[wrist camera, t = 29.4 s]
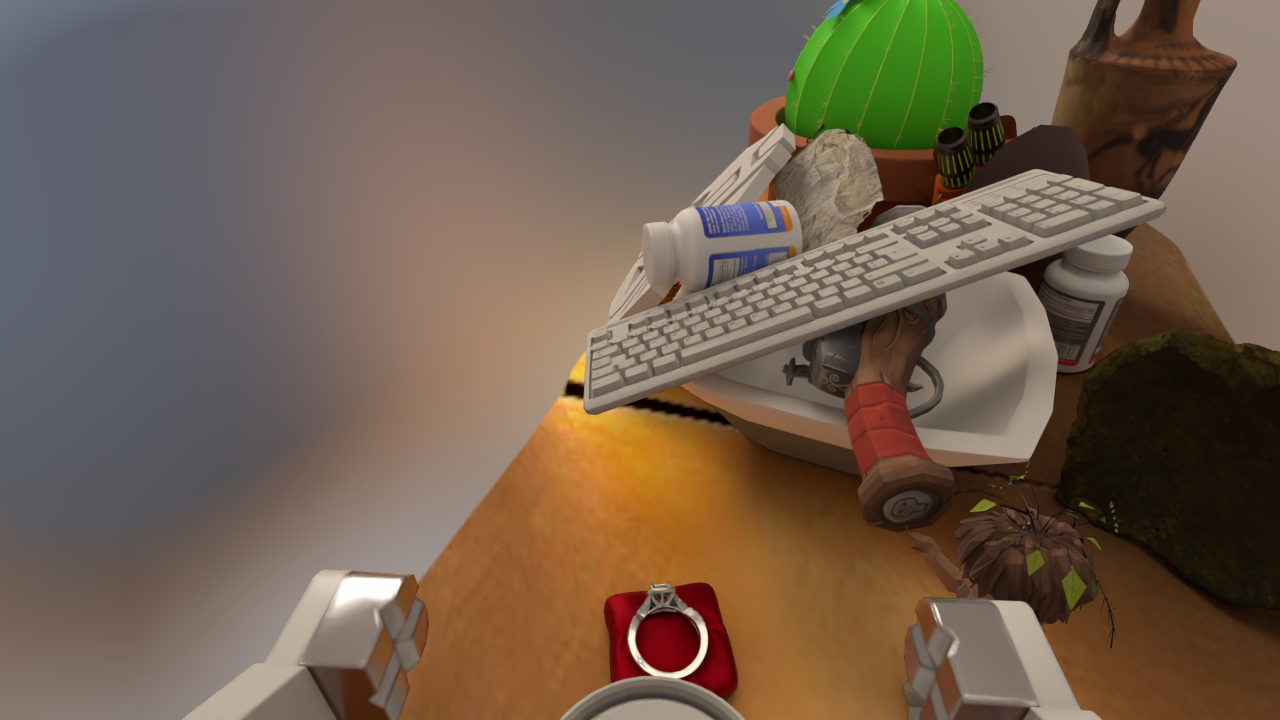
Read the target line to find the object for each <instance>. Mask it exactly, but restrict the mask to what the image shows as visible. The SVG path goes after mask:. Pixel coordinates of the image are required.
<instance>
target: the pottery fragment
mask: <svg viewBox="0 0 1280 720" xmlns="http://www.w3.org/2000/svg"><path fill="white" fill-rule="evenodd" d="M1077 414H1078V417H1077V420H1076V421H1074V422H1073V423H1072V430H1071V432H1070V435H1069V438H1068V440H1067V448H1066V460H1065V463H1064V465H1063V468H1062V470H1061V479H1060V481H1059V483H1058V486H1057V490H1056V493H1055V496H1056V498H1057V499H1058V500H1059V501H1060V502H1062V503H1063V504H1064V505H1065V506H1066V507H1068V508H1073V507H1075V508H1073V509H1076V510H1079V511H1081V512H1082V513H1083V514H1084V515H1086V516H1087V517H1088V518H1089V520H1090V522H1091V521H1096V520H1100V519H1101V518H1103V517H1104V516H1105V520H1106V523H1104V522H1102V521H1097V522H1092V523H1093V524H1095V525H1096V526H1097V527H1098V526H1102V527H1104V528H1105V530H1106V531H1111V530H1112V532H1114V533H1118V534H1126V535H1130V536H1132V537H1133V538H1135V539H1138V540H1140V541H1142V542H1144V543H1145V544H1147V545H1149V546H1150V547H1152V549H1153V550H1154V551H1155V552H1156V553H1158V554H1160V555H1162V556H1163V557H1165V558H1166V559H1168V560H1169V561H1170V562H1171V563H1172V564H1173V566H1174V567H1175V568H1176V569H1177V570H1178V571H1179V573H1180V574H1181V575H1182V576H1183V577H1184V578H1185V579H1189V580H1191V581H1192V582H1193V583H1194V584H1197V585H1199V586H1201V587H1202V588H1204V589H1205V590H1207V591H1208V592H1209V593H1211V594H1212V595H1213V596H1215V597H1217V598H1219V599H1222V600H1224V601H1227V602H1229V603H1231V604H1234V605H1236V606H1240V607H1243V608H1250V609H1254V610H1257V611H1259V612H1262V613H1263V614H1266V615H1269V616H1272V617H1275V618H1277V619H1279V620H1280V352H1279V351H1272V350H1270V349H1267V348H1265V347H1262V346H1259V345H1254V344H1250V343H1243V344H1234V345H1230V344H1229V343H1227V342H1225V341H1222V340H1219V339H1216V338H1215V337H1214V336H1212V335H1209V334H1205V333H1202V332H1199V331H1195V330H1192V329H1188V328H1181V327H1179V328H1174V329H1170V330H1169V331H1167V332H1165V333H1162V334H1159V335H1156V336H1151V337H1146V338H1140V339H1137V340H1135V341H1134V342H1132V343H1130V344H1128V345H1125V346H1122V347H1120V348H1118V349H1116V350H1114V351H1112V352H1110V353H1109V354H1108V356H1107V357H1105V358H1104V359H1102V360H1100V361H1099V362H1098V363H1096V364H1095V365H1094V366H1093V368H1092V369H1091V370H1090V371H1089V372H1088V374H1087V375H1086V376H1085V377H1084V379H1083V382H1082V392H1081V395H1080V397H1079V403H1078V406H1077ZM1110 501H1112V504H1113V507H1112V508H1110V507H1111V505H1112V504H1111V503H1110ZM1081 502H1083V503H1085V504H1086V505H1088V506H1090V507H1092V508H1094V509H1091V508H1087V507H1083V506H1079V505H1080V503H1081ZM1110 504H1111V505H1110ZM1077 506H1079V507H1077ZM1095 509H1096V510H1095ZM1113 510H1114V512H1112V511H1113ZM1111 512H1112V513H1111ZM1114 517H1115V519H1113V518H1114ZM1111 521H1112V522H1111ZM1116 523H1117V525H1118V527H1117V526H1114V525H1115V524H1116ZM1116 529H1117V531H1118V532H1116V531H1115V530H1116Z"/></svg>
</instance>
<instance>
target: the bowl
mask: <svg viewBox="0 0 1280 720" xmlns="http://www.w3.org/2000/svg"><path fill="white" fill-rule="evenodd" d="M695 292H698V291H689V290H687V289H685V288H684V287H683V286H681V288H680V289H679V291H678V292H677V294H676V295H675V297H674V299H673V300H676V299H679V298H682V297H684V296H687V295H690V294H693V293H695ZM945 293H946V300H947V310H946V312H945V314H944V316H943V317H942V318H941V319H940V320H939V321H938V322H937V323H936V325H935V333H936V334H935V336H934V338H933V340H932V342H931V343H930V344H929V345H928V346H927V347H926V348H925V349H924V350H923V352H922V354H921V356H922V357H923V358H925V359H926V360H927V361H929V362H930V363H931V364H932V365H933V366H934V367H935V368H936V369H937V370H938V371H939V373H940V375H941V378H942V380H943V382H944V390H943V397H942V399H941V401H940V403H939V404H938V405H936V406H935V407H934V408H933V409H932V410H931V411H930V412H928V413H926V414H924V415H921V416H919V417H917V418H914V419H911V420H912V423H913V425H914V427H915V430H916V432H917V435H918V437H919V439H920V441H921V443H922V445H923V447H924V449H925V451H926V453H927V454H928V455H929V457H930V458H931V459H932V461H933V462H935V463H938V464H942V465H946V466H947V467H956V466H972V465H987V464H1002V463H1017V462H1027V461H1028V460H1029V459H1030V458H1031V456H1032V454H1033V452H1034V450H1035V448H1036V445H1037V443H1038V441H1039V439H1040V437H1041V435H1042V433H1043V431H1044V429H1045V427H1046V424H1047V422H1048V420H1049V418H1050V416H1051V414H1052V412H1053V403H1054V393H1055V383H1056V373H1057V363H1058V354H1057V351H1056V347H1055V343H1054V340H1053V336H1052V332H1051V329H1050V325H1049V322H1048V318H1047V314H1046V311H1045V308H1044V306H1043V305H1042V303H1041V302H1040V300H1039V298H1038V297H1037V295H1036V294H1035V292H1034V290H1033V289H1032V287H1031V286H1030V284H1029V282H1028V281H1027V279H1026V278H1025V277H1024V276H1021V275H1018V274H1014V273H1010V272H1007V271H1005V272H1002V273H1000V274H997V275H994V276H991V277H988V278H985V279H982V280H980V281H977V282H974V283H971V284H968V285H965V286H962V287H960V288H957V289H954V290H951V291H948V292H945ZM673 300H672V301H673ZM803 343H804V342H803ZM803 343H800V344H797V345H794V346H791V347H788V348H785V349H783V350H780V351H777V352H774V353H771V354H768V355H766V356H763V357H760V358H757V359H754V360H751V361H748V362H746V363H743V364H740V365H737V366H734V367H731V368H728V369H726V370H723V371H720V372H717V373H714V374H711V375H708V376H706V377H703V378H700V379H697V380H694V381H691V382H688V383H686V384H683V385H680V386H682V387H683V388H685V389H686V390H688V391H689V392H691V393H692V394H694V395H696V396H697V397H699V398H700V399H702V400H703V401H706V402H708V403H709V404H710V405H712V406H713V407H714V408H715V409H716V410H717V411H718V412H719V413H720V414H721V415H722V416H724V417H725V418H726V419H727V420H728V421H729V422H730V423H731V424H732V425H733V426H734V427H736V428H737V429H738V430H739V431H740V432H741V433H742V434H743V435H744V436H745V437H747V438H748V439H750V440H752V441H754V442H756V443H758V444H760V445H762V446H764V447H766V448H768V449H770V450H772V451H774V452H777V453H781V454H784V455H787V456H791V457H794V458H797V459H801V460H804V461H807V462H811V463H814V464H818V465H821V466H825V467H828V468H832V469H836V470H839V471H843V472H846V473H850V474H854V475H857V476H861V474H860V471H859V468H858V465H857V461H856V458H855V455H854V451H853V448H852V444H851V439H850V435H849V430H848V425H847V419H846V413H845V407H844V399H842V398H839V397H836V396H833V395H830V394H827V393H825V392H823V391H821V390H819V389H818V388H816V387H815V386H813V385H811V384H810V383H808V378H797V377H794V379H793V382H792V385H791V386H788V385H787V382H786V376H785V373H783V372H782V370H783V367H784V365H785V364H787V365H789V362H790V360H791V359H792V358H795V362H796V365H803V364H806V365H808V366H810V362H809V361H807V360H806V359H805V358H804V356H803ZM910 382H911V383H913V384H919V385H923V389H920V390H917V391H915V392H912V393H911V392H907V396H906V405H907V408H908V410H909V409H912V408H915V407H917V406H920V405H922V404H924V403H926V402H927V401H928V400H929V399H930V398H932V397H933V396H934V392H935V387H934V385H933V382H932V380H931V378H930V376H929V375H927V374H926V373H925V372H924V371H923V370H922V369H921V368H920V367H919V366H917V365H916V366H915V368H914V371H913V373H912V376H911V379H910Z"/></svg>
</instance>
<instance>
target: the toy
mask: <svg viewBox="0 0 1280 720" xmlns="http://www.w3.org/2000/svg"><path fill="white" fill-rule="evenodd" d="M1029 460H1030V459H1029ZM1029 460H1028V462H1027V463H1029ZM1028 465H1029V464H1028ZM1028 465H1027V466H1026V468H1028ZM1015 466H1016V464H1015ZM1027 472H1028V471H1027ZM1027 472H1025V473H1027ZM1024 476H1025V475H1024ZM1024 476H1021V477H1014V476H1009V480H1013V481H1012V482H1011V483H1012V484H1015V485H1018V479H1019V478H1022V479H1023V480H1024V481H1026V480H1025V479H1024V478H1023V477H1024ZM998 478H999V477H998ZM1014 479H1015V480H1014ZM999 482H1001V481H999ZM1026 482H1027V481H1026ZM1011 483H1009V484H1011ZM1027 483H1028V482H1027ZM1009 484H1008V485H1009ZM1028 484H1029V483H1028ZM989 485H994V484H989ZM1029 485H1030V484H1029ZM992 487H996V486H992ZM1000 488H1002V487H1000ZM1000 488H999V489H1000ZM1031 488H1032V485H1031ZM978 489H979V488H978ZM969 490H971V491H973V490H976V489H969ZM1019 490H1020V489H1019ZM1032 490H1033V488H1032ZM961 491H962V490H961ZM961 491H959V492H961ZM959 492H957V493H959ZM966 492H968V491H966ZM976 492H984V491H982V490H978V491H976ZM1020 492H1021V491H1020ZM957 493H955V494H957ZM962 493H963V492H962ZM985 493H987V492H985ZM1033 493H1034V491H1033ZM955 494H953V495H955ZM988 494H989V493H987V495H988ZM1021 494H1022V493H1021ZM953 495H951V496H950V497H952V496H953ZM990 495H991V496H994V497H996V496H995V495H993V494H991V493H990ZM996 495H997V494H996ZM982 496H983V495H982ZM1022 496H1023V495H1022ZM1034 496H1035V494H1034ZM950 497H949V498H948V500H949V499H950ZM991 498H992V497H991ZM997 498H999V497H997ZM997 498H996V499H997ZM1023 498H1024V497H1023ZM999 499H1000V500H1001V499H1002V498H999ZM1016 499H1017V502H1018V498H1016ZM1035 499H1036V497H1035ZM948 500H947V501H948ZM1002 500H1003V499H1002ZM1024 500H1025V499H1024ZM1005 502H1006V501H1005ZM1025 502H1026V501H1025ZM1036 502H1037V500H1036ZM1006 503H1007V502H1006ZM1110 503H1111V504H1112V501H1110ZM1008 504H1009V503H1008ZM1026 504H1027V503H1026ZM1037 504H1038V502H1037ZM1111 504H1110V505H1111ZM995 505H996V506H1001V507H1003V509H1004V512H1005V513H1006V514H1003V513H1000V514H999V513H997V512H996V511H994V510H993V511H990V512H986V513H983V514H979V515H976V516H972V517H969V519H963V520H961V521H960V523H959V524H964V525H961V526H960V527H959V528H958V529H957V530H956V531H955V532H953V533H956V534H955V535H954V537H953V538H955V539H956V540H957V541H959V542H960V545H959V549H958V553H957V557H956V559H957V558H958V557H959V563H960V562H961V561H962V563H961V565H962V564H963V563H964V562H966V564H965V567H964V571H960V570H959V569H958V568H956V567H955V566H954V565H953V564H952V563H951V562H950V561H949V560H948V559H947V558H946V557H945V556H944V555H943V554H942V553H941V552H940V549H941V547H940V546H939V545H938V544H937V543H936V541H935V540H934V539H933V538H932V537H930V536H927V535H925V534H922V533H918V532H915V531H910V532H909V533H907V535H909V536H912V537H914V538H916V540H915V547H912V548H910V552H911V553H913V554H916V555H918V556H920V557H922V558H923V559H924V560H925V561H926V563H927V564H928V565H929V567H930V568H931V569H932V570H933V572H934V573H935V574H936V576H937V577H938V578H939V579H940V581H941V582H942V583H943V585H944V586H945V587H946V589H947V590H948V591H950V592H954V593H957V598H968V599H987V600H1000V601H1022V602H1026V603H1027V604H1028V605H1029V606H1030V607H1031V608H1032V609H1033V611H1034V613H1035V615H1036V617H1037V620H1038V622H1039V624H1040V626H1042V625H1044V624H1052V623H1053V624H1054V623H1055V622H1056V621H1057V620H1058V619H1059V620H1060V621H1061V620H1062V622H1063V621H1064V620H1065V622H1066V625H1067V622H1068V618H1069V615H1070V613H1071V612H1072V611H1074V610H1075V608H1076V607H1078V606H1079V605H1080V606H1081V607H1082V605H1084V604H1086V603H1088V602H1091V601H1093V600H1094V599H1095V597H1096V595H1097V593H1098V590H1097V586H1098V585H1099V583H1098V582H1099V581H1098V580H1097V579H1096V576H1097V575H1096V574H1095V572H1094V568H1093V567H1094V566H1093V558H1092V557H1091V554H1090V553H1089V552H1088V550H1087V549H1086V547H1085V544H1084V541H1083V538H1082V537H1084V536H1081V535H1080V534H1078V532H1077V531H1076V530H1075V529H1074V527H1075V526H1076V525H1075V523H1076V519H1077V520H1078V519H1080V518H1079V517H1078V516H1077V515H1076V514H1075V513H1074V512H1073V511H1071V510H1070V511H1066V510H1069V509H1066V510H1065V511H1063V510H1062V512H1063V513H1066V514H1069V515H1071V516H1074V517H1075V520H1074V523H1073V527H1071V526H1070V525H1069V524H1068V523H1067V522H1058V520H1057V518H1058V517H1059V516H1060V515H1059V516H1058V517H1057V518H1056V519H1054V518H1052V517H1053V516H1052V517H1047V516H1043V515H1039V514H1038V511H1039V505H1038V510H1035V509H1034V508H1033V507H1032V506H1031V507H1028V508H1027V509H1026V511H1025V509H1024V508H1023V510H1019V509H1015V508H1014V507H1013V506H1011V505H1010V504H1009V505H1010V506H1011V507H1013V508H1011V507H1007V506H1004V505H1000V504H996V503H993V502H991V501H988V500H986V499H983V500H982V501H981V502H980V503H979V504H977V505H976V506H975V507H974V508H973V509H972V510H971V511H970V512H975V511H986V510H988V509H990V508H992V507H994V506H995ZM1005 505H1006V504H1005ZM1009 505H1008V506H1009ZM1027 506H1028V505H1027ZM1079 506H1083V507H1087V508H1091V509H1094V508H1092V507H1090V506H1088V505H1086V504H1085V503H1083V502H1081V503H1080V505H1079ZM1079 506H1077V507H1079ZM1005 507H1006V508H1005ZM1112 507H1113V504H1112V505H1111V507H1110V508H1112ZM1061 508H1062V507H1061ZM1073 508H1075V507H1073ZM1056 509H1057V508H1056ZM1070 509H1072V508H1070ZM1095 510H1096V509H1095ZM1029 511H1030V512H1029ZM1062 512H1058V511H1057V514H1060V513H1062ZM1067 512H1069V513H1067ZM1070 512H1071V513H1072V514H1070ZM1112 512H1114V510H1113V511H1112ZM1112 512H1111V513H1112ZM1063 513H1062V514H1063ZM1057 514H1055V515H1057ZM1062 514H1061V515H1062ZM1073 514H1074V515H1073ZM1055 515H1054V516H1055ZM1113 519H1115V517H1114V518H1113ZM1080 521H1081V520H1080ZM1097 521H1102V522H1104V523H1106V520H1105V516H1104V517H1103V518H1101V519H1100V520H1096V521H1091V522H1087V523H1092V522H1097ZM1111 522H1112V521H1111ZM1078 523H1079V521H1078ZM1083 524H1086V523H1083ZM1079 525H1081V524H1079ZM1086 525H1087V524H1086ZM1114 526H1117V527H1118V525H1117V523H1116V524H1115V525H1114ZM1111 531H1112V530H1111ZM1115 531H1116V532H1118V531H1117V529H1116V530H1115ZM953 533H952V534H953ZM1112 534H1113V533H1112ZM1115 536H1116V535H1115ZM1085 538H1086V537H1085ZM1088 539H1090V540H1091V541H1092V542H1093V543H1094V544H1095V545H1096V546H1097V547H1098V548H1099V549H1100V550H1101V551H1102V549H1101V548H1100V546H1099V545H1098V543H1097V541H1096V540H1095V539H1094V538H1088ZM961 565H960V566H961ZM1097 570H1098V569H1097ZM1097 577H1098V576H1097ZM1097 583H1098V585H1097ZM1096 585H1097V586H1096ZM1100 585H1101V584H1100ZM1100 585H1099V587H1100ZM1098 589H1099V588H1098ZM1100 589H1101V591H1102V593H1103V594H1104V592H1103V590H1102V588H1101V587H1100ZM1103 589H1104V588H1103ZM1104 596H1105V594H1104ZM1105 599H1106V602H1107V604H1108V601H1109V600H1108V599H1107V598H1106V596H1105V598H1104V600H1105ZM1107 600H1108V601H1107ZM1103 604H1104V602H1103ZM1110 604H1111V603H1110ZM1081 607H1080V611H1081ZM1108 607H1109V612H1110V616H1111V621H1112V626H1113V628H1112V631H1111V632H1112V638H1111V647H1110V648H1112V642H1113V634H1114V632H1115V629H1114V624H1113V619H1112V614H1113V613H1112V614H1111V612H1112V611H1111V609H1110V606H1109V604H1108ZM1102 608H1103V606H1102ZM1115 611H1116V610H1115ZM1101 612H1102V611H1101ZM1100 616H1101V615H1100ZM1120 618H1121V617H1120ZM1114 619H1115V618H1114ZM1099 620H1100V619H1099ZM1115 621H1116V620H1115ZM1061 624H1062V623H1061ZM1108 627H1109V620H1108ZM1118 628H1119V627H1118ZM1110 635H1111V633H1110ZM1109 637H1110V636H1109ZM1115 637H1116V635H1115ZM1108 639H1109V638H1108ZM1107 642H1108V641H1107ZM903 689H904V692H905V694H906V697H907V699H908V702H909V704H910V707H909V715H908V720H920V719H919V716H920V714H921V712H922V709H923V707H924V705H925V702H924V701H923V700H922V699H921V698H920V697H919V696H918V695H917V694H916V693H915V692H914V691H913V690H912V689H911V686H910V682H909V679H908V681H907V682H906V684H905V685H904V686H903Z"/></svg>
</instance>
